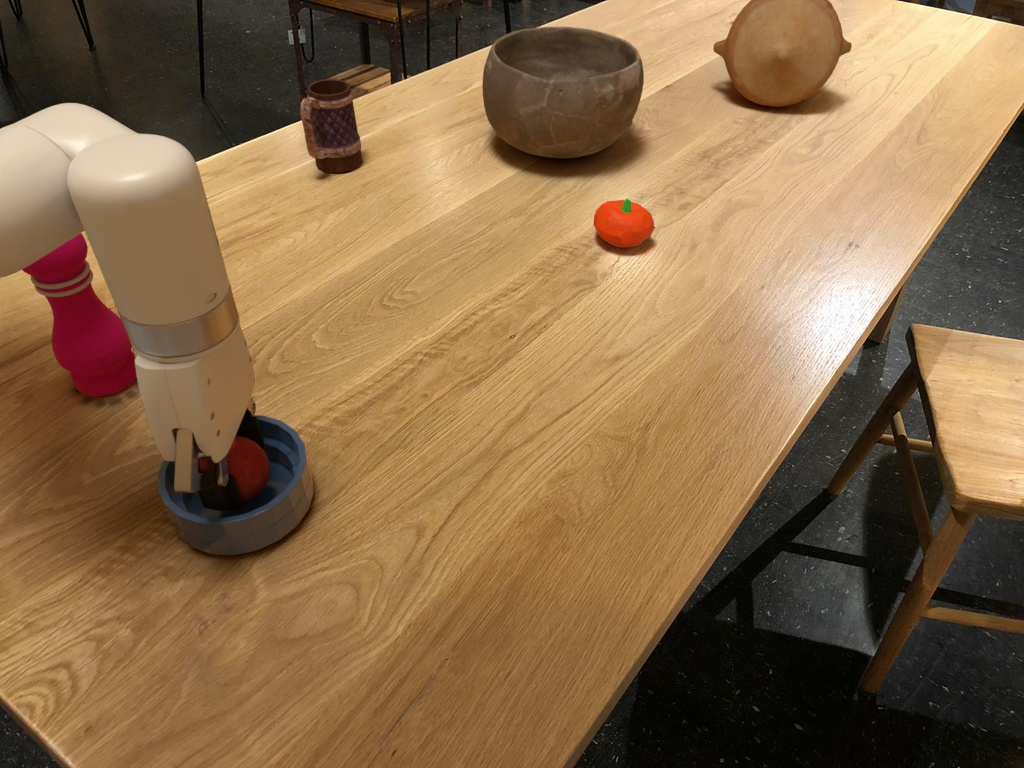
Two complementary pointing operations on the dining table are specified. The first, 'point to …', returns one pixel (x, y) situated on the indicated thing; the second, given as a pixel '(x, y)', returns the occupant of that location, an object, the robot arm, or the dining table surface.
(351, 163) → the mug
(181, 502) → the blue bowl
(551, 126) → the bowl
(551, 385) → the dining table surface
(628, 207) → the pumpkin
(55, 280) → the pepper mill
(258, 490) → the onion
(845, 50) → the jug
